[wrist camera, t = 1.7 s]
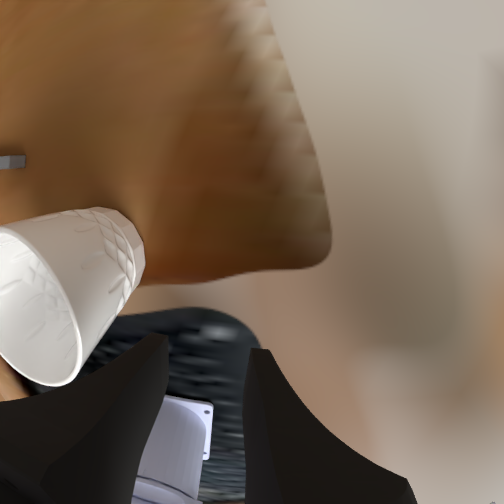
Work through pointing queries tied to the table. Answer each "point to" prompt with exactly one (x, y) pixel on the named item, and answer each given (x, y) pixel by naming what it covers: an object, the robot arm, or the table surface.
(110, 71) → the table surface
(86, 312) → the white cup
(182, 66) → the table surface
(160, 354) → the robot arm
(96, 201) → the table surface
